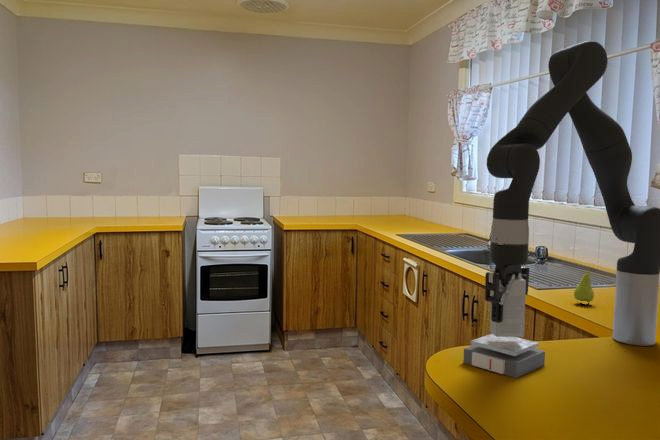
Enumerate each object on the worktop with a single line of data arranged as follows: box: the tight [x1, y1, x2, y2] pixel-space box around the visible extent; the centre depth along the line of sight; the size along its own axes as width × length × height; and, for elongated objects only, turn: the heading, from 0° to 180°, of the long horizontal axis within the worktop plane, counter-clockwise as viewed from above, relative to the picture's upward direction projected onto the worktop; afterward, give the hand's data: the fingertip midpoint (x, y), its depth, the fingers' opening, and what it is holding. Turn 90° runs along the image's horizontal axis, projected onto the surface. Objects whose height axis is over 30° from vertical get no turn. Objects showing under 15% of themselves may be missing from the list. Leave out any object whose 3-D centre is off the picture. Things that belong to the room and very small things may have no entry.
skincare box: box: [489, 278, 527, 338], centre depth 114 cm, size 6×4×12 cm
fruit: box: [573, 267, 595, 302], centre depth 173 cm, size 6×6×12 cm
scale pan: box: [470, 333, 539, 356], centre depth 114 cm, size 10×10×1 cm
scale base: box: [463, 345, 546, 379], centre depth 114 cm, size 13×12×3 cm
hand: (506, 318), depth 114 cm, fingers closed on skincare box, 7 cm apart
